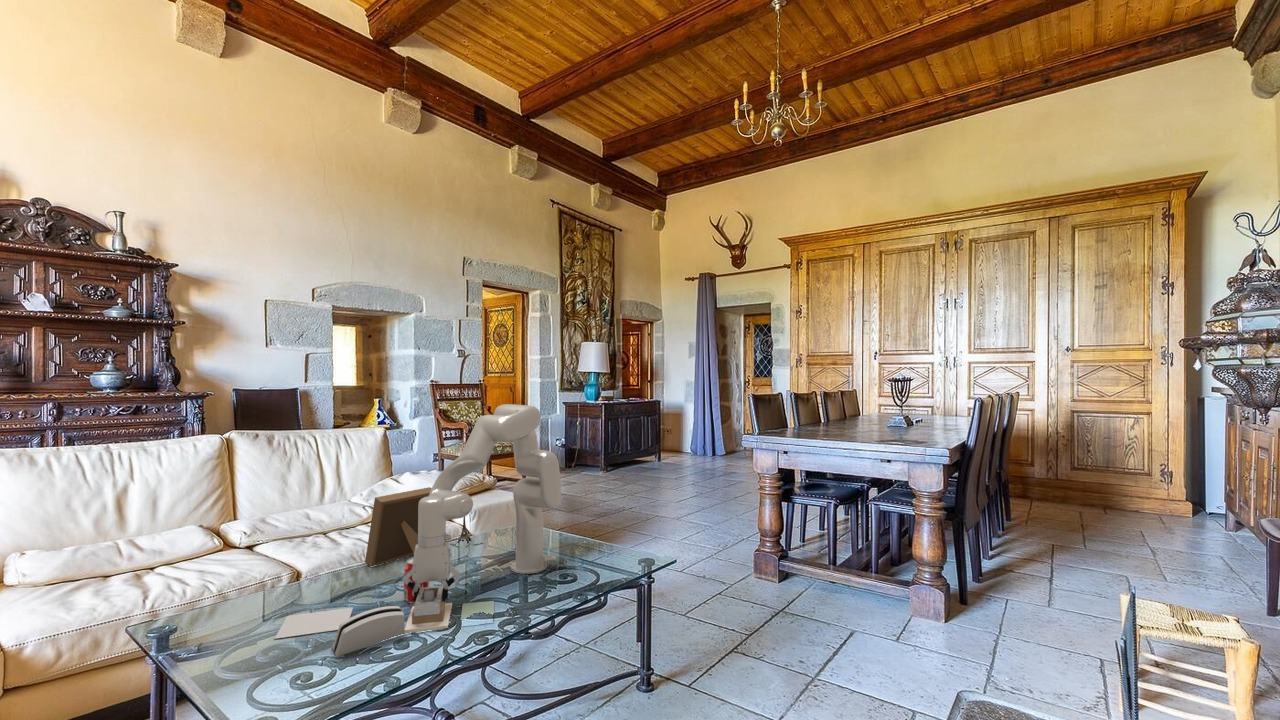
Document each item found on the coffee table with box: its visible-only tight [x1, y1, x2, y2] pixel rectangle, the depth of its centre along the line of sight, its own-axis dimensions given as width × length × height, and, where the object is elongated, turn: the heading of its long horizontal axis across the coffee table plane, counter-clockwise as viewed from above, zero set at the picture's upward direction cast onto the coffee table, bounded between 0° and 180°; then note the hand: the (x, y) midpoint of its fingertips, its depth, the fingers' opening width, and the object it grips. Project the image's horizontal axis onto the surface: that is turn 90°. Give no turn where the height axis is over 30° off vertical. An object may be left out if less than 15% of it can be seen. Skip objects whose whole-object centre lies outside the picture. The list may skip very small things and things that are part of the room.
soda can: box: [403, 557, 430, 603], centre depth 169 cm, size 7×7×12 cm
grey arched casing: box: [331, 605, 405, 657], centre depth 142 cm, size 17×5×10 cm, turn 134°
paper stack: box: [274, 606, 354, 639], centre depth 159 cm, size 23×25×1 cm
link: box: [413, 585, 443, 616], centre depth 155 cm, size 6×12×3 cm, turn 15°
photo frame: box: [365, 486, 432, 567], centre depth 203 cm, size 15×22×25 cm
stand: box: [404, 590, 453, 634], centre depth 156 cm, size 11×15×9 cm
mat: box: [460, 600, 495, 620], centre depth 159 cm, size 9×14×1 cm, turn 15°
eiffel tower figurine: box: [446, 516, 483, 548], centre depth 225 cm, size 15×10×13 cm
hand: (431, 602), depth 159 cm, fingers closed on link, 6 cm apart
